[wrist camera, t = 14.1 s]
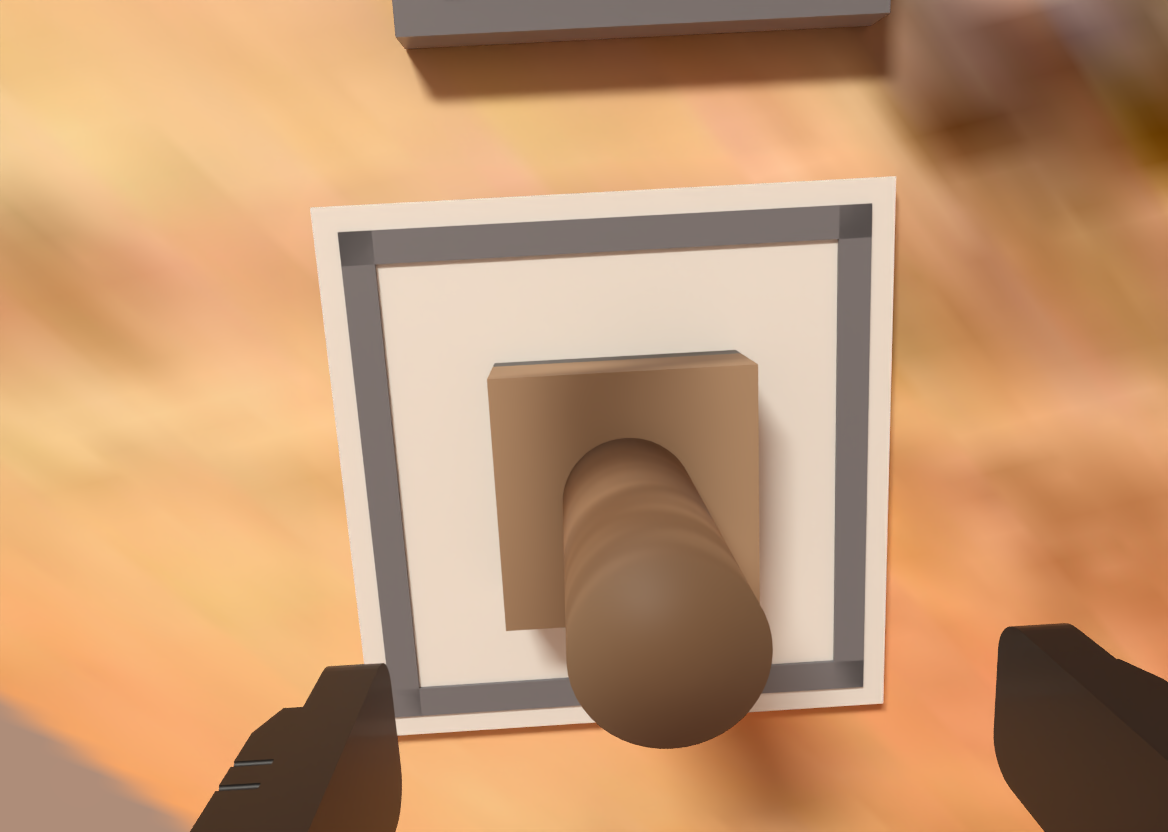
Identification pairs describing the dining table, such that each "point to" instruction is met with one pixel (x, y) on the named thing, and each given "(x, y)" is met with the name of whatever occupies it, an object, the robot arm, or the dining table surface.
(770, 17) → the ink pad
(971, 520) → the dining table surface
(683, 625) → the stamp
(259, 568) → the dining table surface
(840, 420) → the marked card
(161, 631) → the dining table surface
